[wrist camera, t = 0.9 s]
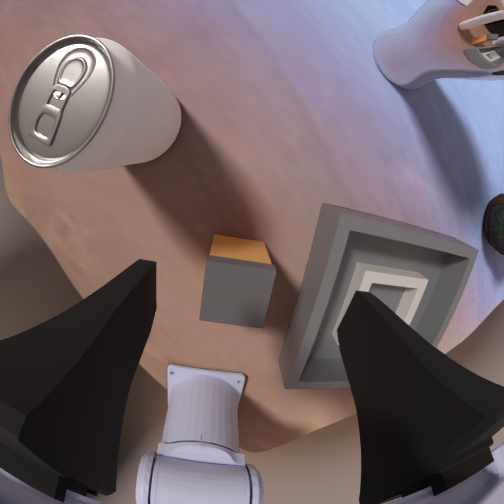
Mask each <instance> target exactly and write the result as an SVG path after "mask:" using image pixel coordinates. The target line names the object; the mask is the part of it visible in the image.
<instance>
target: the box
mask: <svg viewBox="0 0 504 504" xmlns="http://www.w3.org/2000/svg"><path fill="white" fill-rule="evenodd" d="M477 253H478V250H477V249H475V248H473V247H471V246H470V245H468V244H466V243H464V242H462V241H460V240H458V239H456V238H454V237H451V236H447V235H444V234H441V233H438V232H434V231H431V230H428V229H424V228H421V227H417V226H414V225H410V224H407V223H403V222H399V221H396V220H392V219H388V218H384V217H380V216H376V215H372V214H368V213H364V212H360V211H356V210H352V209H348V208H344V207H339V206H335V205H330V204H326V203H322V207H321V211H320V216H319V220H318V224H317V228H316V232H315V236H314V240H313V244H312V248H311V252H310V255H309V259H308V263H307V267H306V270H305V274H304V278H303V281H302V285H301V288H300V292H299V295H298V299H297V302H296V306H295V309H294V313H293V316H292V319H291V323H290V326H289V329H288V332H287V336H286V339H285V342H284V345H283V348H282V351H281V355H280V358H279V365H280V369H281V374H282V378H283V383H284V387H285V389H336V388H351V387H350V384H349V380H348V377H347V374H346V371H345V367H344V364H343V361H342V357H341V354H340V348H339V343H338V336H337V328H338V326H339V324H340V322H341V320H342V318H343V316H344V314H345V312H346V310H347V308H348V306H349V304H350V302H351V300H352V298H353V296H354V294H355V291H356V290H357V291H365V292H370V293H372V294H373V295H374V296H376V297H377V298H378V299H380V300H381V301H382V302H383V303H384V304H386V305H387V306H388V307H389V308H390V309H391V310H392V311H393V312H395V313H396V314H397V315H398V316H399V317H400V318H401V319H402V320H404V321H405V322H406V323H407V324H408V325H409V326H410V327H411V328H412V329H414V330H415V331H416V332H417V333H418V334H419V335H421V336H422V337H423V338H424V339H425V340H427V341H428V342H429V343H430V344H431V345H433V346H434V347H435V348H436V347H437V346H438V344H439V342H440V340H441V338H442V336H443V334H444V332H445V330H446V328H447V326H448V324H449V322H450V320H451V318H452V316H453V314H454V312H455V309H456V307H457V305H458V303H459V300H460V298H461V296H462V293H463V291H464V289H465V286H466V284H467V281H468V278H469V276H470V273H471V270H472V268H473V265H474V262H475V259H476V256H477Z"/></svg>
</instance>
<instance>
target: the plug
mask: <svg viewBox="0 0 504 504" xmlns="http://www.w3.org/2000/svg"><path fill="white" fill-rule="evenodd" d="M276 272H277V270H276V268H275V265H274V264H272V263H271V260H270V258H269V255H268V252H267V249H266V246H265V244H264V242H262V241H255V240H249V239H243V238H236V237H230V236H223V235H217V234H214V237H213V241H212V246H211V251H210V255H208V257H207V262H206V269H205V277H204V285H203V293H202V301H201V310H200V319H199V320H202V321H209V322H216V323H224V324H232V325H240V326H248V327H257V328H263V325H264V321H265V317H266V313H267V309H268V305H269V301H270V297H271V293H272V289H273V284H274V280H275V276H276Z"/></svg>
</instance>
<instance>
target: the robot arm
mask: <svg viewBox="0 0 504 504" xmlns="http://www.w3.org/2000/svg"><path fill="white" fill-rule="evenodd" d="M156 308H157V306H156V262H154V261H148V260H142V259H139V260H138V261H136V262H135V263H133V264H132V265H131V266H129V267H128V268H127V269H125V270H124V271H123V272H121V273H120V274H119V275H117V276H116V277H115V278H113V279H112V280H111V281H109V282H108V283H107V284H105V285H104V286H103V287H101V288H100V289H98V290H97V291H95V292H94V293H92V294H91V295H89V296H88V297H86V298H85V299H84V300H82V301H81V302H79V303H78V304H76V305H74V306H73V307H71V308H70V309H68V310H66V311H64V312H63V313H61V314H59V315H57V316H55V317H54V318H52V319H50V320H48V321H46V322H44V323H41V324H39V325H37V326H35V327H33V328H31V329H29V330H27V331H25V332H22V333H19V334H17V335H14V336H12V337H9V338H6V339H4V340H1V341H0V504H104V503H102V502H99V501H96V500H93V499H90V498H87V497H86V495H87V493H90V494H92V495H95V496H97V495H98V493H100V494H103V495H110V494H112V493H114V492H116V475H117V461H118V452H119V443H120V436H121V430H122V424H123V418H124V412H125V407H126V402H127V398H128V393H129V390H130V386H131V383H132V380H133V377H134V374H135V371H136V369H137V366H138V363H139V361H140V358H141V355H142V353H143V350H144V347H145V345H146V342H147V340H148V337H149V334H150V331H151V328H152V324H153V320H154V316H155V312H156ZM337 336H338V343H339V348H340V354H341V357H342V361H343V364H344V367H345V371H346V374H347V377H348V380H349V384H350V387H351V391H352V394H353V397H354V401H355V405H356V410H357V416H358V423H359V431H360V443H361V486H360V496H359V503H360V504H382V503H385V502H388V501H391V500H394V499H397V498H400V497H402V498H400V499H397V500H395V501H392V502H389V503H386V504H504V443H503V444H501V445H500V446H498V447H497V448H495V449H494V450H493V451H490V448H489V447H490V446H491V445H492V444H493V439H492V436H493V435H494V434H495V433H497V432H498V431H499V430H500V429H501V428H502V427H504V387H503V386H501V385H498V384H495V383H493V382H491V381H489V380H487V379H484V378H482V377H480V376H478V375H476V374H475V373H473V372H471V371H469V370H468V369H466V368H464V367H463V366H461V365H459V364H458V363H456V362H455V361H453V360H452V359H450V358H449V357H447V356H446V355H445V354H443V353H442V352H441V351H439V350H438V349H437V348H435V347H434V346H433V345H431V344H430V343H429V342H428V341H427V340H425V339H424V338H423V337H422V336H421V335H419V334H418V333H417V332H416V331H415V330H414V329H412V328H411V327H410V326H409V325H408V324H407V323H406V322H405V321H404V320H402V319H401V318H400V317H399V316H398V315H397V314H396V313H395V312H393V311H392V310H391V309H390V308H389V307H388V306H387V305H386V304H384V303H383V302H382V301H381V300H380V299H378V298H377V297H376V296H374V295H373V294H372V293H370V292H365V291H357V290H356V291H355V294H354V296H353V298H352V300H351V302H350V304H349V306H348V308H347V310H346V312H345V314H344V316H343V318H342V320H341V322H340V324H339V326H338V328H337ZM173 372H174V373H173ZM239 380H240V381H239ZM244 382H245V375H244V374H242V373H232V372H223V371H214V370H206V369H199V368H192V367H185V366H179V365H173V364H171V365H169V366H168V411H167V416H166V421H165V427H164V433H163V439H162V443H159V446H158V452H157V454H156V452H153V451H149V452H148V453H147V454H145V455H143V457H142V459H141V462H140V465H139V471H138V476H137V484H136V503H137V504H263V499H264V491H263V482H262V477H261V475H260V473H259V471H258V470H257V469H256V468H255V466H254V465H252V464H245V454H240V453H239V434H238V413H237V409H238V405H239V402H240V398H241V394H242V390H243V386H244Z"/></svg>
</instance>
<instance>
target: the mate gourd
mask: <svg viewBox="0 0 504 504" xmlns="http://www.w3.org/2000/svg"><path fill="white" fill-rule="evenodd" d="M489 202H490V203H489V204H487V205H488V207H487V209H486V212H485V217H484V229H485V234H486V238H487V240H488V242H489V244H490V245H491V246H493V248H494V249H495V250H497V251H498V252H499V253H500V254H502V255H504V194H500V195H498V196H496V197H494V198H493V199H492V200H491V201H489Z"/></svg>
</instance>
